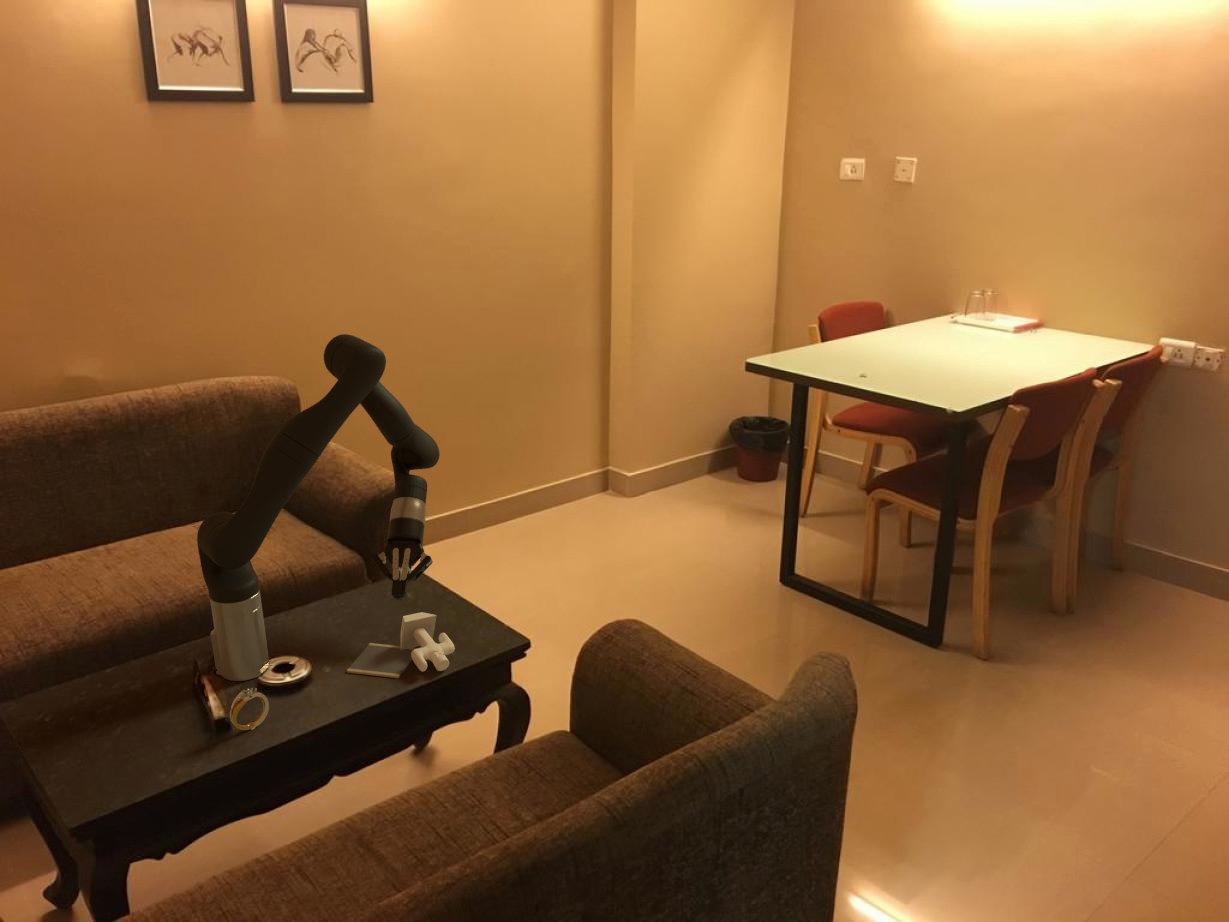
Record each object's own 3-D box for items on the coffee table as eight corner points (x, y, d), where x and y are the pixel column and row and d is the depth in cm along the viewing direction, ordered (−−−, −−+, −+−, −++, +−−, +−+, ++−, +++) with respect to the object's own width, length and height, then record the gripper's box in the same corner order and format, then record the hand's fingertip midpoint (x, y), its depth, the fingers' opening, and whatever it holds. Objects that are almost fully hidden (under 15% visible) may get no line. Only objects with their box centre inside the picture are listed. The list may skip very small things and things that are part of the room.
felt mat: (346, 672, 196) (346, 670, 196) (370, 644, 206) (369, 642, 206) (398, 678, 194) (398, 676, 194) (419, 650, 204) (419, 648, 204)
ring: (266, 717, 181) (261, 679, 179) (274, 724, 179) (269, 687, 177) (229, 732, 177) (224, 694, 174) (237, 740, 175) (231, 701, 172)
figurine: (429, 631, 210) (461, 674, 200) (388, 641, 204) (420, 685, 194) (433, 604, 207) (467, 646, 197) (392, 613, 201) (424, 656, 191)
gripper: (372, 515, 209) (362, 593, 201) (434, 516, 208) (426, 594, 201) (380, 528, 215) (371, 604, 208) (440, 528, 215) (433, 605, 208)
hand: (398, 599), depth 204 cm, fingers closed
